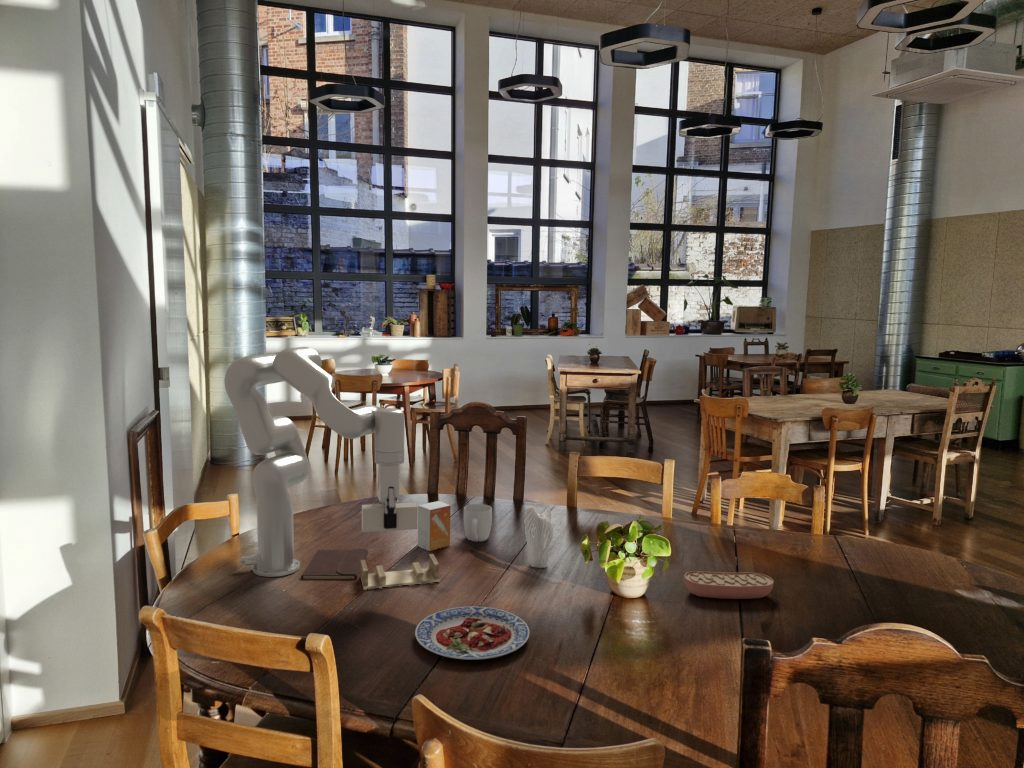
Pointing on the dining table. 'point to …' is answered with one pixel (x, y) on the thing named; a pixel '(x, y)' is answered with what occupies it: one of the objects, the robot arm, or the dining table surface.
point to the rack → (400, 575)
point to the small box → (434, 525)
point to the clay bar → (375, 517)
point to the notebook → (335, 564)
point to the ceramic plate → (472, 632)
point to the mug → (477, 521)
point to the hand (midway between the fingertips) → (389, 524)
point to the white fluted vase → (538, 536)
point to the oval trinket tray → (728, 584)
